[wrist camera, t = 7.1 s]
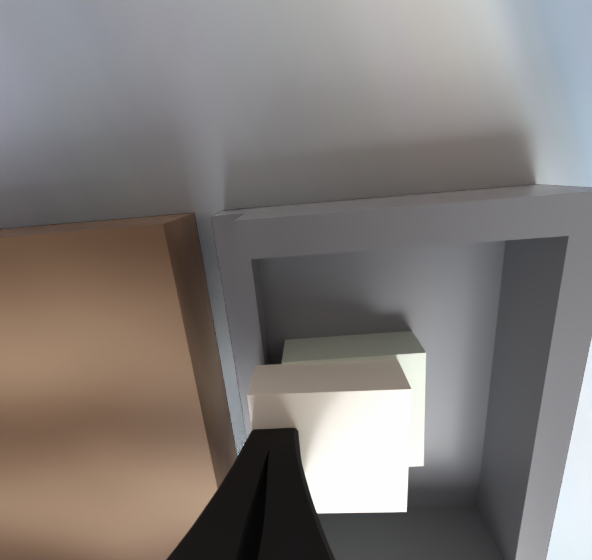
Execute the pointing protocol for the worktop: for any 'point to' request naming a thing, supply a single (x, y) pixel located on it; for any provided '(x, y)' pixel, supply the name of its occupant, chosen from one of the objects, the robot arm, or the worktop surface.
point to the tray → (436, 345)
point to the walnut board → (107, 390)
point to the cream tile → (342, 429)
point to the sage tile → (371, 349)
